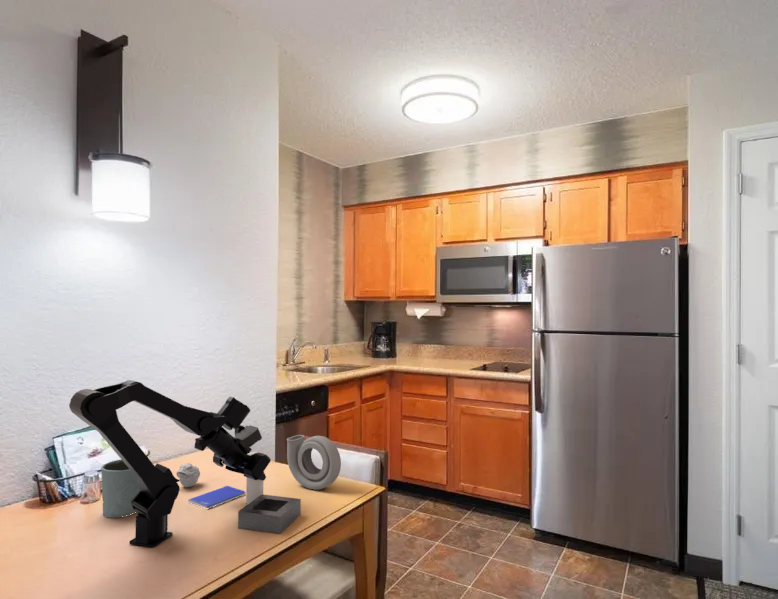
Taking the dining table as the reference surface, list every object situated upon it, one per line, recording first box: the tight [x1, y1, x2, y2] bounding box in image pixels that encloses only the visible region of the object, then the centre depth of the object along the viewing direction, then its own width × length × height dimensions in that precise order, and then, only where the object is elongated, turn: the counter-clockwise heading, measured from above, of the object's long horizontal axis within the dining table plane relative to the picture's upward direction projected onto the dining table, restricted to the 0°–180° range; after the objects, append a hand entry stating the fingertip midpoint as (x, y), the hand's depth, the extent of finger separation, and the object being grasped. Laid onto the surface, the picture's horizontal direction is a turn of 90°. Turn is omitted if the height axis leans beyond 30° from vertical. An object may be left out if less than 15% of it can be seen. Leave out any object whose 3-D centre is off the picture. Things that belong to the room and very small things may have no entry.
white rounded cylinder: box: [245, 451, 265, 505], centre depth 133 cm, size 5×5×13 cm
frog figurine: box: [176, 462, 201, 488], centre depth 144 cm, size 6×7×7 cm
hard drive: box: [187, 485, 246, 508], centre depth 136 cm, size 2×8×12 cm
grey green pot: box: [100, 458, 140, 518], centre depth 127 cm, size 10×10×12 cm
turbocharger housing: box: [286, 434, 342, 491], centre depth 145 cm, size 17×6×15 cm, turn 62°
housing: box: [237, 493, 302, 535], centre depth 122 cm, size 11×11×4 cm
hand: (259, 476), depth 134 cm, fingers closed on white rounded cylinder, 4 cm apart
